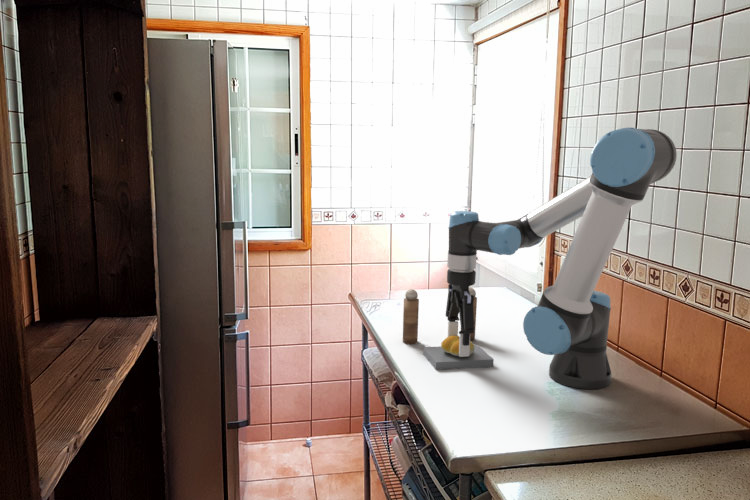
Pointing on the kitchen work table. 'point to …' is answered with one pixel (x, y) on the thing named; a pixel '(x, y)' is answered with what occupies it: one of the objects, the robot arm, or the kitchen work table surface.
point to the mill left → (410, 317)
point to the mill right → (472, 292)
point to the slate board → (457, 358)
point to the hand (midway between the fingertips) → (458, 349)
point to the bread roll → (454, 345)
